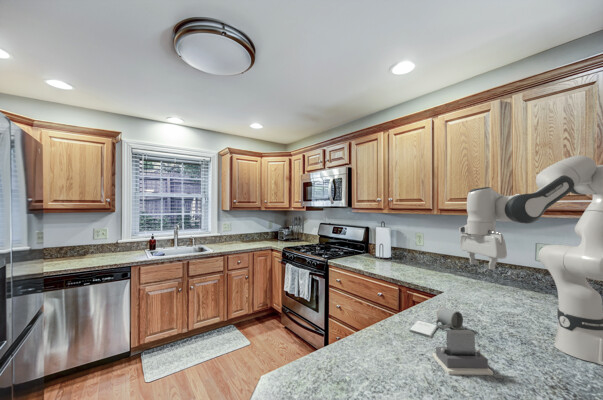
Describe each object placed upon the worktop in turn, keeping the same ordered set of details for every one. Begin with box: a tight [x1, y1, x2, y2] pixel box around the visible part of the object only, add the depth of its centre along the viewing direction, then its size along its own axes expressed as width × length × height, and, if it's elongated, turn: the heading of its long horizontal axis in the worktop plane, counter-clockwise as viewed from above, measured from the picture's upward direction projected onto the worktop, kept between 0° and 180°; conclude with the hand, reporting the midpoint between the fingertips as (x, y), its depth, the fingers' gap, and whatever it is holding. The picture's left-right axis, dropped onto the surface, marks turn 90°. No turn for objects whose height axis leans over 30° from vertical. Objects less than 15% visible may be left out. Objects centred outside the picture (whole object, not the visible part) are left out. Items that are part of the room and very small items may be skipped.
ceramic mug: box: [435, 307, 464, 330], centre depth 114 cm, size 11×8×8 cm
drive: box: [445, 329, 476, 356], centre depth 85 cm, size 8×2×10 cm, turn 90°
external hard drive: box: [409, 320, 438, 339], centre depth 111 cm, size 2×8×12 cm
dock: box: [432, 346, 494, 376], centre depth 85 cm, size 14×10×5 cm
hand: (481, 266), depth 95 cm, fingers open, 8 cm apart
